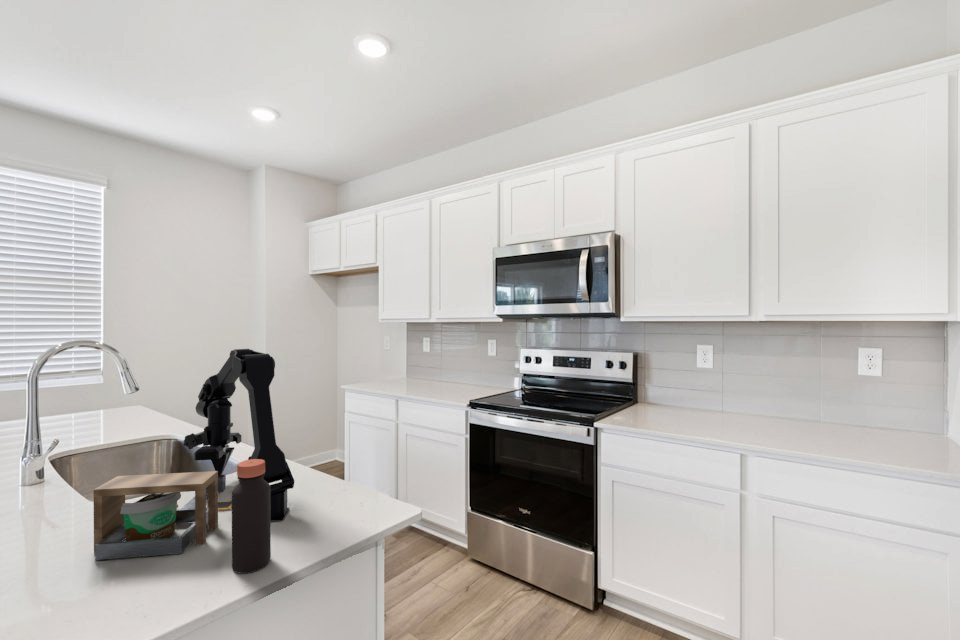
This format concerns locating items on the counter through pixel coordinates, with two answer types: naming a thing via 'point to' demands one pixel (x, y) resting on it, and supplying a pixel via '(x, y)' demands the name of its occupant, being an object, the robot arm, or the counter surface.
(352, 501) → the counter surface
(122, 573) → the counter surface
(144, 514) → the food container
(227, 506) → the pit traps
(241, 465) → the bottle
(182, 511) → the long grey tray
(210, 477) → the tunnel
